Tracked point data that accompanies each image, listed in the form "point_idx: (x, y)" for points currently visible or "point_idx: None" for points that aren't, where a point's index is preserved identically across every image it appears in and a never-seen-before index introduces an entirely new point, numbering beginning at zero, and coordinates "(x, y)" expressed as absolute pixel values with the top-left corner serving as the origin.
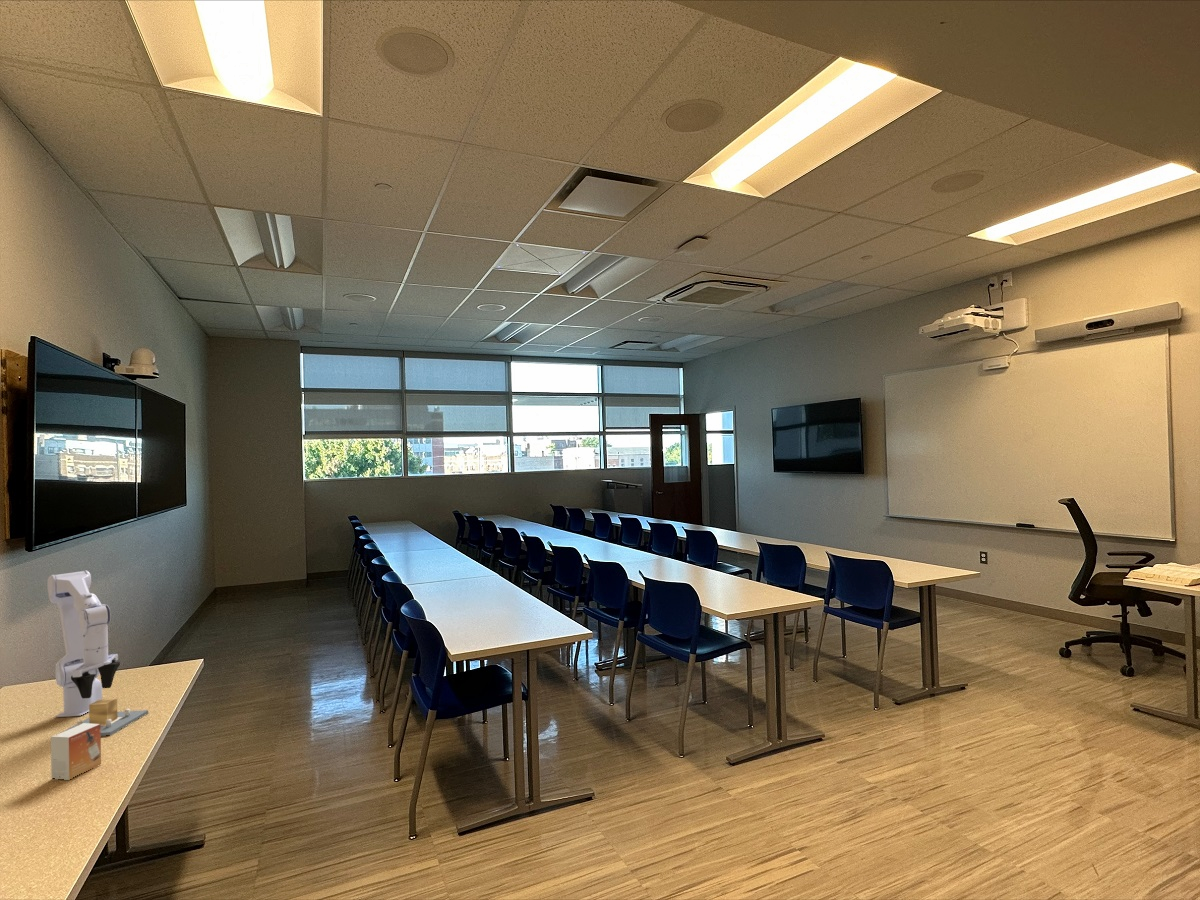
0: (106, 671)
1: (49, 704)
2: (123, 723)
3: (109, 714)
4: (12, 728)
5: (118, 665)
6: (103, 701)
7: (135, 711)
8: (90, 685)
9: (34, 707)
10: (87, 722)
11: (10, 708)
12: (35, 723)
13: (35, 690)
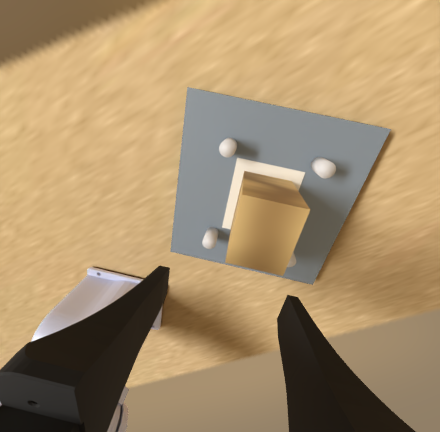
0: (120, 364)
1: None
2: (309, 121)
3: (284, 187)
4: (198, 366)
5: (46, 345)
6: (263, 237)
7: (188, 137)
8: (329, 356)
9: None
10: None
11: None
12: (183, 345)
13: None
